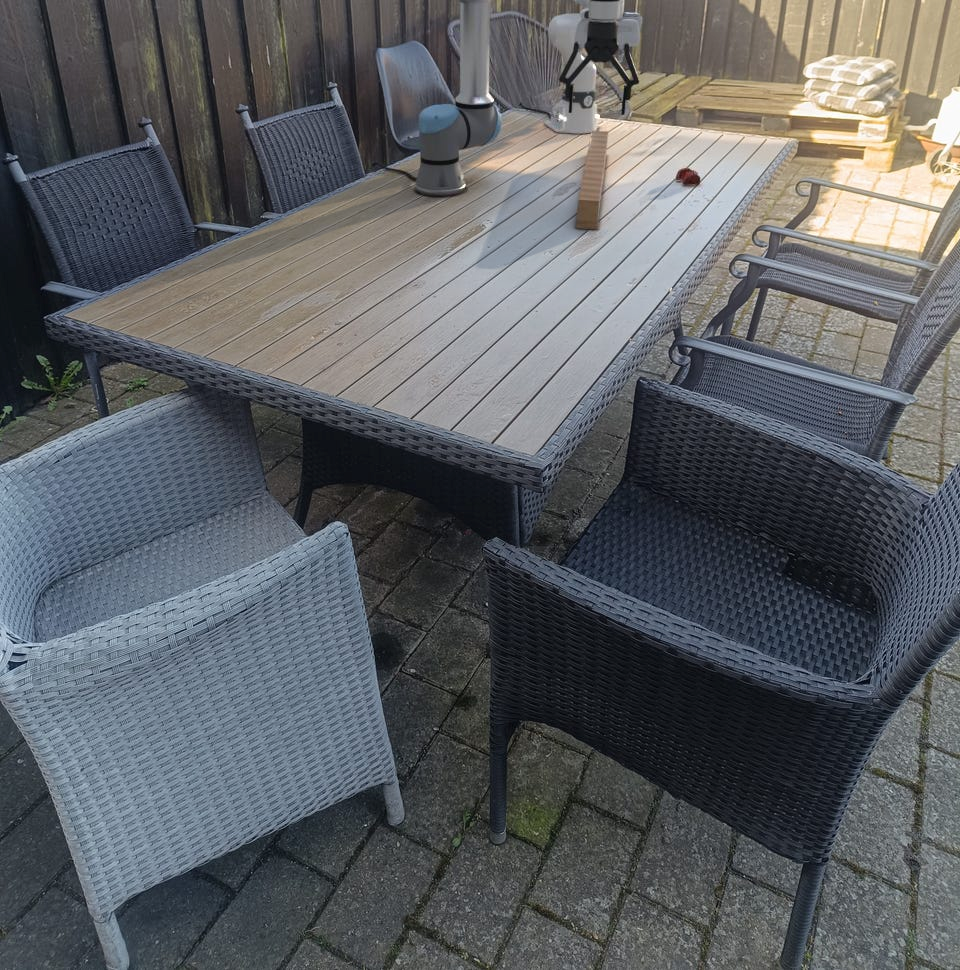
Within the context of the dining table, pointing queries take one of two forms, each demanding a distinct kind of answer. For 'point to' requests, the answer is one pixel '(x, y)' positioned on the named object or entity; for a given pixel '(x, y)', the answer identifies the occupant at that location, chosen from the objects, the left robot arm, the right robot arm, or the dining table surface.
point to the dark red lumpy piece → (688, 176)
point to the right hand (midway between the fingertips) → (605, 61)
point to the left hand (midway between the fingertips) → (596, 112)
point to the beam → (592, 181)
